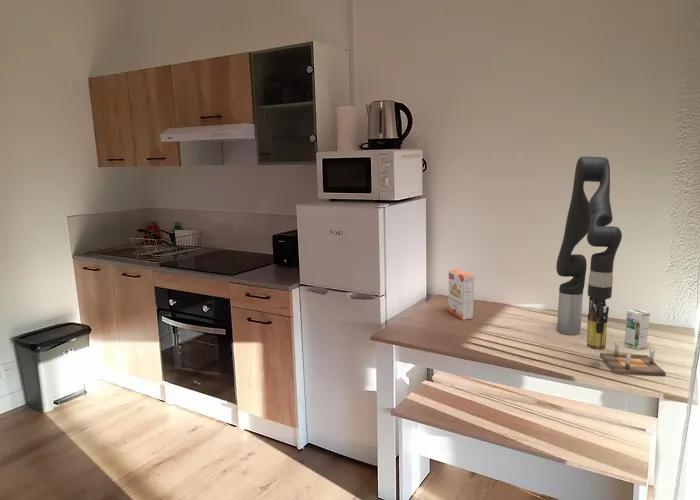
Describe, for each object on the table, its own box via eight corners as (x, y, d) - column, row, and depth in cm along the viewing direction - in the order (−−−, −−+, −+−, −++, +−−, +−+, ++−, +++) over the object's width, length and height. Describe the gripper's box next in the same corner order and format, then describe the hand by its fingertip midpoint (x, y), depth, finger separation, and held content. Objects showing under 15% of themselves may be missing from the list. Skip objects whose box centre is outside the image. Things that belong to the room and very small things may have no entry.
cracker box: (447, 312, 249) (448, 269, 245) (458, 310, 250) (459, 268, 247) (461, 320, 235) (463, 275, 232) (473, 319, 237) (475, 274, 233)
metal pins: (613, 355, 189) (614, 342, 188) (646, 356, 187) (647, 343, 187) (625, 369, 177) (627, 355, 176) (661, 370, 175) (662, 356, 174)
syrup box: (623, 345, 202) (626, 309, 200) (634, 343, 204) (637, 307, 202) (635, 350, 197) (639, 313, 195) (647, 348, 199) (650, 311, 197)
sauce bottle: (600, 344, 186) (604, 290, 182) (609, 350, 180) (613, 295, 176) (582, 344, 186) (586, 291, 182) (590, 351, 180) (594, 295, 176)
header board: (599, 356, 192) (600, 352, 191) (646, 358, 189) (646, 354, 189) (614, 373, 176) (615, 370, 176) (665, 376, 174) (665, 372, 173)
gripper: (582, 278, 186) (579, 322, 189) (595, 288, 172) (591, 336, 175) (605, 278, 185) (601, 323, 188) (619, 289, 171) (614, 337, 174)
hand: (596, 329), depth 181 cm, fingers closed on sauce bottle, 6 cm apart
